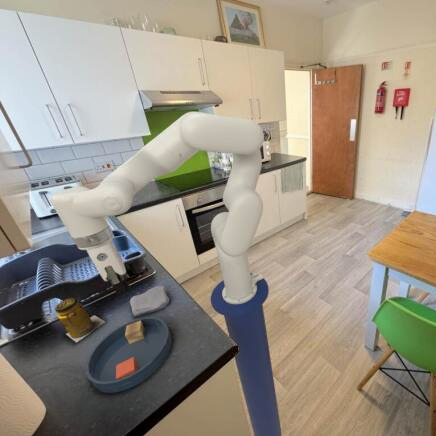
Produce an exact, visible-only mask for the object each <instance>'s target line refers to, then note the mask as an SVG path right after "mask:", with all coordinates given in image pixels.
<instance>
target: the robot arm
mask: <svg viewBox="0 0 436 436" xmlns="http://www.w3.org/2000/svg"><path fill="white" fill-rule="evenodd" d="M264 142H265V134H264V131H263V128H262V127H261V125H260V124H259V123H257V122H256V121H255V120H253V119H249V118H242V117H233V116H224V115H219V114H213V113H207V112H202V111H187V112H186V113H185V114H183V115H181V116H180V117H179V118H178V119H177V120H175V121H174V122H172V123H171V124H170V125H169V126H167V127H166V128H165V129H163V131H161V132H160V133H159V134H158V135H156V136H155V137H154V138H153V139H151V140H150V141H149V142H147V143H146V144H145V145H144V146H143V147H141V148H140V149H139V150H138V151H137V152H136V153H135V154H134V155H133V156H131V157H129V159H127V160H125V162H123V163H122V164H121V165H120V166H118V167H117V168H116V169H115V170H113V171H112V172H110V173H109V174H108V175H107V176H106V177H105V178H104V179H102V181H101V182H100V183H99V184H98V186H96V187H95V188H92V189H90V188H89V187H86V186H75V187H70V188H66V189H62V190H59V191H56V192H55V193H53V194H52V195H51V196H50V203H51V205H52V207H53V208H54V210H55V212H56V214H57V215H58V217H59V219H60V220H61V222H62V223H63V225H64V227H65V229H66V230H67V232H68V233H69V235H70V237H71V238H72V240H73V242H74V243H75V245H76V247H77V249H78V250H81V251H86V252H87V254H88V256H89V258H90V259H91V261H92V264H93V265H94V267H95V268H96V270H97V272H98V273H99V275H100V277H101V279H102V280H103V281H104V282H110V284H111V287H112V288H113V290H114V292H115V294H116V295H117V296H120V295H123V294H124V293H127V292H128V291H130V290H131V287H130V284H129V283H128V281H127V278H126V276H124V275H126V273H127V270H126V266H125V263H124V260H123V258H122V257H121V254H120V253H119V251H118V249H117V247H116V246H115V244H114V242H113V239H114V238H115V234H114V232H113V231H112V229H111V227H110V225H109V223H108V221H107V218H106V217H114V216H119V215H123V214H124V213H127V212H128V211H129V210H130V208H131V207H132V204H133V199H134V196H135V195H136V194H137V193H138V192H139V191H140V190H142V189H143V188H145V187H146V186H147V185H148V184H149V183H150V182H152V181H153V180H155V179H158V178H160V177H162V176H167V175H170V174H172V173H174V172H175V171H176V170H178V169H179V168H180V167H181V166H183V165H184V163H186V162H187V161H188V160H190V159H191V158H192V157H193V156H194V155H196V154H197V153H198V152H200V151H201V152H208V153H218V154H219V153H220V154H232V164H231V170H230V173H229V176H228V179H227V182H226V185H225V188H224V190H223V194H222V202H223V204H224V206H225V207H226V209H227V210H228V211H224V212H220V213H218V214H216V215H215V216H214V217H213V219H212V221H211V224H210V231H211V235H212V239H213V243H214V247H215V251H216V253H217V257H218V262H219V267H220V271H221V276H222V279H223V280H224V284H225V287H224V289H223V291H222V296H223V299H224V300H225V301H226V302H227V303H230V304H242V303H245V302H247V301H249V300H251V299H252V298H253V297H254V296H255V294H256V292H257V285H256V283H257V281H259V280H261V279H263V278H264V276H263V274H262V273H260V274H257V273H256V272H254V273H252V275H250V273H251V269H250V263H249V257H248V250H249V248H250V247H251V245H252V244H253V241H254V238H255V235H256V233H257V230H258V227H259V224H260V222H261V219H262V216H263V212H264V202H263V199H262V197H261V195H260V194H259V193H258V192H257V190H256V189H257V185H258V182H259V178H260V175H261V171H262V167H263V164H262V163H263V159H262V152H261V149H262V148H261V147H263V144H264ZM257 275H258V276H257ZM256 276H257V277H256ZM223 280H222V281H223Z"/></svg>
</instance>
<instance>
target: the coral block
mask: <svg viewBox="0 0 436 436" xmlns="http://www.w3.org/2000/svg"><path fill="white" fill-rule="evenodd" d="M137 370H139V366H138V364H137V362H136V360H135V359H134V357H132V358H130V359H128V360H126V361H124V362H122V363H120V364H118V365H116V379H117V380H119V379H121V378H124V377H126V376H129V375H131V374H132V373H134V372H136V371H137Z"/></svg>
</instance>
